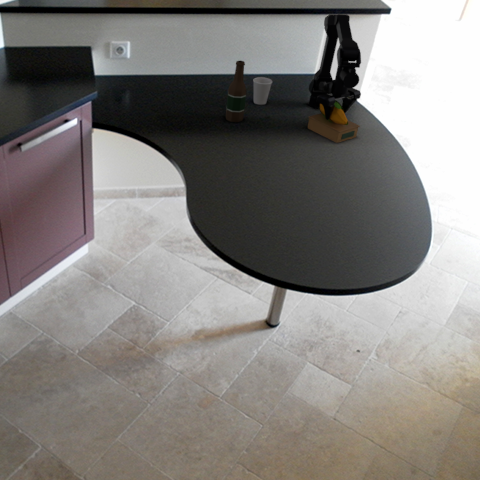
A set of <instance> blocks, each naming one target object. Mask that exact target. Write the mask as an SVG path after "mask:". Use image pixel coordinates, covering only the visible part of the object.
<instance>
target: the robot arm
mask: <svg viewBox="0 0 480 480" xmlns="http://www.w3.org/2000/svg"><path fill="white" fill-rule="evenodd" d="M350 17H351V16H350V15H348V14H346V13H345V14H343V13H341V14H340V13H337V14H336V13H335V14H334V13H329V14H328V15H326V16H325V18H324V21H323V26H324V28H323V29H324V31H325V34H326V36H325V42H324V47H323V51H322V56H321V61H320V64H319V69H318V70H317V71H316V72H315V73H314V75H313V78H312V79H311V81H310V83H309V84H308V91H309V93H310V96H309V101H308V102H306V105H308V106H309V107H312V108H313V109H315V110H316V109H317V110H319V108H320V104H322V105H323V107H324V111H325V118H326V119H327V120H328V119H329V118H330V116H331V113H332V111H333V109H334V107H335V105H334V103H335V100H336V101H337V100H342V102H341V103H342V104H341V106H342V108H343V111H344V113H345V114H347V112H348V111H349V110H350V108H351V107H352V106H353V105H354V104H355V103H356V102H357V101H358V99H361V95H362V93H361V90H359V89H357V88H355V87H356V86H358V85H359V83H360V77H359V75H358V73H357V69H360V68H361V64H362V52H361V49H360V48H359V47H360V46H359V45H358V42H357V41H355V40H354V39H353V33H352V29H351V24H350ZM338 42H339V46H338V48H337V44H338ZM336 48H337V51H336ZM335 53H336V61H337V62H336V63H337V67H336V71H335V72H336V73H335V78H334V79H333V76H332V72H331V71H332V67H333V62H334V57H335Z"/></svg>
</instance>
